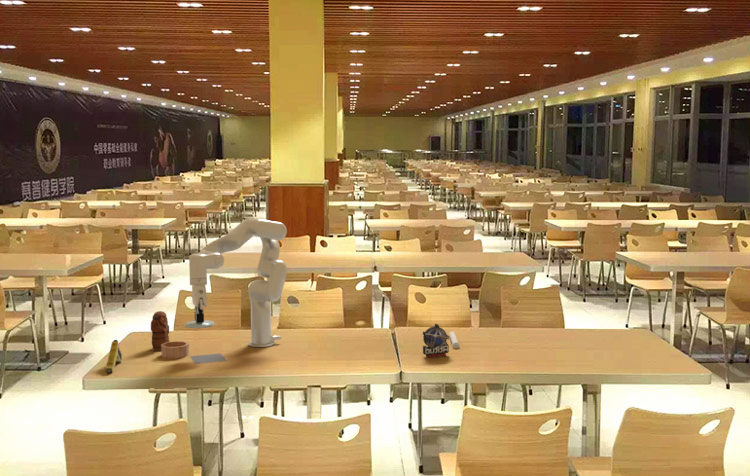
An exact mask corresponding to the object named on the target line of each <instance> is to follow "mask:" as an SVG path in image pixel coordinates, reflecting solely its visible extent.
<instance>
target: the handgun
mask: <svg viewBox="0 0 750 476" xmlns="http://www.w3.org/2000/svg"><path fill="white" fill-rule="evenodd" d="M110 345H111V346H110V350H109V354H108V357H107V362H106V366H105V371H106V373H108V374H113V372H114V368H115V365H116V364H121V363H122V360H123V358H122V357H123V354H122V351H121V349H120V344H119V341H118V340H117V339H114V340H113V341H112V342H111V344H110Z"/></svg>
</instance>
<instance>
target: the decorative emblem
mask: <svg viewBox="0 0 750 476" xmlns="http://www.w3.org/2000/svg"><path fill="white" fill-rule="evenodd" d="M422 335H423V337H422V338H423V343H424V344H425V345H422V354H423V355H425V357H426V358H428V359H431V358H440V357H441V358H442V357H446V356H447V355H446V354H448V353H449V352H450V349H449V347H450V344H448V342H447V341H448V340H450V336H449V334H447V332H446V331H445V330H444V329H443V328H441V327H440V326H439V324H437V323H435V324H434V326H431V327H428V328H427V329H426V330H425V331H423V332H422Z"/></svg>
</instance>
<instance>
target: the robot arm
mask: <svg viewBox="0 0 750 476" xmlns="http://www.w3.org/2000/svg"><path fill="white" fill-rule="evenodd" d="M287 233H288V230H287V227H286V225H285V224H284V223H282V222H280V221H274V220H273V221H272V220H267V219H264V218H263V219H262V218H253V217H248V218H245V219H244V220H243V221H241V222H240V223H239V224H238V225H236V226H235V227H234V228H233V229H232V230H230V231H229V232H228V233H227V234H225V235H224V236H221V237H220V238H219V237H218V238H217V239H215V240H213V241H211V242H209V243H208V244H207V245H205V246H204V247H203V248H202V249H201V250H200V251H199V252H198V253H192V254H190V255H189V256H188V259H189V260H188V262H189V265H188V266H189V267H188V268H189V286H191V301H192V305H193V306H194V311H195V310H197V314H196V316H197V323H200V322H204V320H205V315H204V314H205V312H204V311H205V310H204V307H205V308H206V307H207V306H208V297H207V288H206V285H208V279H207V278H208V275H207V274H208V272H207V270H208V269H209V270H217V269H220V268H221V267H222V266H224V263H225V257H224V256H223V254H224V253H228V252H229V253H230V252H234V251H236V250H238V249H240V248H242V247H243V246H244V245H245V244H246V243H247V242H249V240H251V239H252V238H253V237H255V238H260V240H261V243H262V250H261V253H260V255H259V261H258V264H257V268H256V272H257V274H258V276H260V277H261V278H265V279H268V280H264V279H255V280H253V281H251V282H250V283H249V286H248V290H247V292H248V297H249V301H250V326H251V327H250V330H251V331H250V333H251V334H250V335H251V336H250V337H251V338H250V339H251V340H250V341H248V343H247V344H248V346H250V347H252V348H268V347H271V346H272V347H273V346H274V345H275V341H276V340H277V341H279V340H282V336H281V335H277V334H276V335H275V334H274V335H273V334H272V317H271V316H272V310H271V304H270V303H273V302H277V301H278V300H279V299H281V296H282V294H283V289H284V286H285V282H286V278H287V274H288V267H287V265H286V262H284V261H283V260H280V259H279V257H280V252H281V246H280V241H281V240H283V239H284V238H285V237H286V236H287ZM194 321H196V320H195V319H194Z"/></svg>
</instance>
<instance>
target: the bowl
mask: <svg viewBox="0 0 750 476" xmlns="http://www.w3.org/2000/svg"><path fill="white" fill-rule="evenodd" d="M189 347H190V345H189V342H187V341H183V340H182V341H180V340H174V341H173V340H172V341H169V342H166V343H163V344H161V351H160V352H161V353H160V354H161V358H163V359H167V360H168V359H171V360H172V359H182V358H185V357H188V356H189V355H190V354H189V353H190V348H189Z"/></svg>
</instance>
